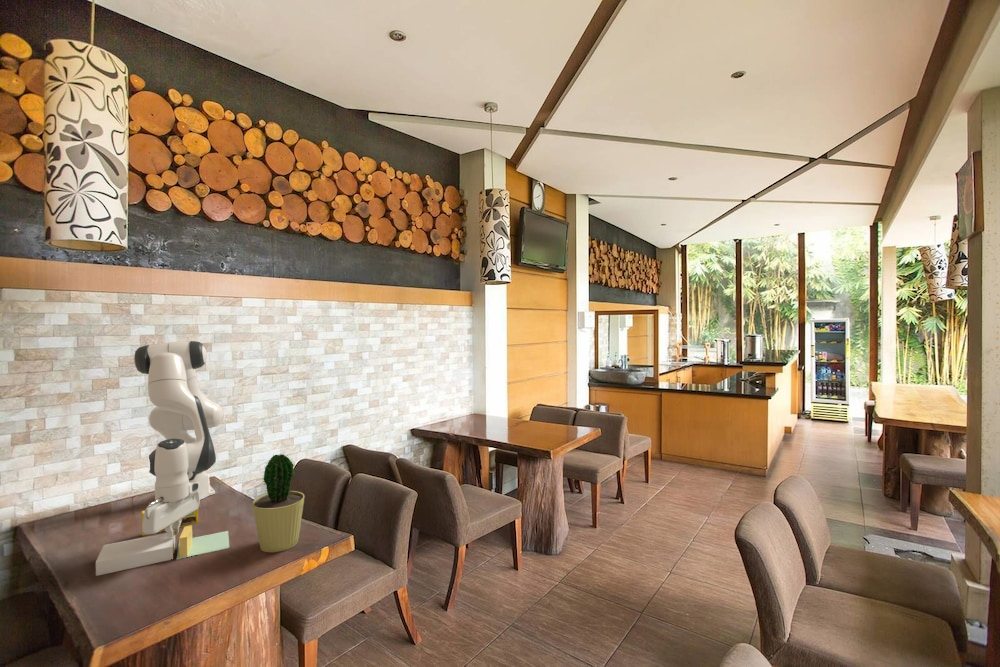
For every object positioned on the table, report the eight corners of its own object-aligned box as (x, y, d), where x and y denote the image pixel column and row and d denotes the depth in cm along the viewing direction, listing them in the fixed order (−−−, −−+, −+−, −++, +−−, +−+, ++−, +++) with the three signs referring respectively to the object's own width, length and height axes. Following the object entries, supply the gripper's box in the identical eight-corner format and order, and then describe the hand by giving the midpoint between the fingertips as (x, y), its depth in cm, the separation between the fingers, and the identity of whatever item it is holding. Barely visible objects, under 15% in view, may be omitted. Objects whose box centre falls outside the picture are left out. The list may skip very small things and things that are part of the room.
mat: (179, 541, 155) (179, 540, 155) (228, 531, 162) (228, 530, 162) (176, 559, 143) (176, 558, 143) (229, 548, 151) (229, 547, 151)
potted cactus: (250, 559, 144) (248, 462, 143) (255, 537, 158) (254, 449, 157) (304, 550, 149) (303, 456, 149) (305, 530, 164) (304, 444, 163)
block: (184, 526, 152) (192, 525, 153) (185, 544, 152) (192, 543, 153) (179, 538, 144) (187, 536, 145) (179, 557, 144) (187, 556, 145)
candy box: (142, 537, 158) (141, 512, 158) (141, 535, 160) (141, 510, 160) (198, 523, 169) (198, 500, 169) (197, 521, 171) (197, 498, 171)
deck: (104, 557, 144) (103, 544, 144) (175, 543, 154) (175, 531, 154) (95, 575, 134) (95, 562, 134) (172, 559, 144) (172, 546, 143)
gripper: (156, 505, 138) (157, 551, 138) (203, 481, 158) (204, 521, 158) (135, 504, 138) (136, 551, 138) (185, 480, 158) (185, 521, 159)
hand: (172, 535), depth 148 cm, fingers closed
